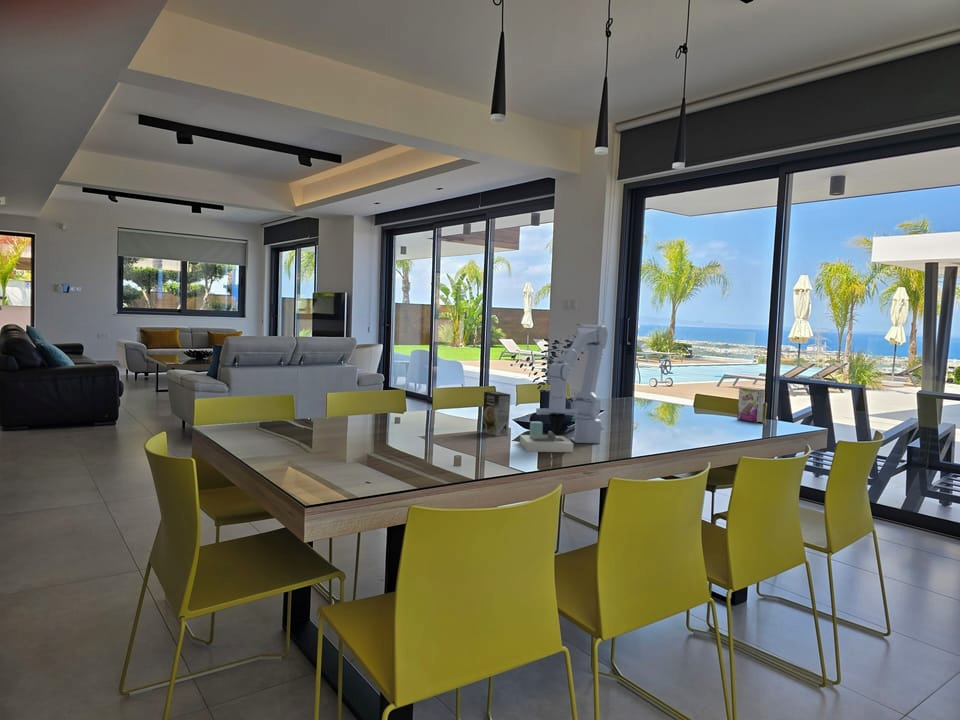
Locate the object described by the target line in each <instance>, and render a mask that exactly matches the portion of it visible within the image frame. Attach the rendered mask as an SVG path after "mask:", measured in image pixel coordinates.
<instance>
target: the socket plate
mask: <svg viewBox="0 0 960 720" xmlns="http://www.w3.org/2000/svg"><path fill="white" fill-rule="evenodd" d="M519 444H520V445H521V446H522V447H523V448H524V450H525V451H526V452H535V453H536V452H537V453H539V452H540V453H544V452H545V453H574V443H573V442H572V441H570V440H569V439H568V438H567V437H565V436H564V435H558V436H556V438H555V439H554V441H534V440H533V439H532V438H531V437H530V434H520V435H519Z"/></svg>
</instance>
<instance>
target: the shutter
mask: <svg viewBox="0 0 960 720" xmlns="http://www.w3.org/2000/svg"><path fill="white" fill-rule="evenodd" d="M529 435H530V434H529ZM530 437H531V438H532V439H533V440H534V441H554V439H555V438H556V434H554V433H553V430H548V431H547V434H542V435H530Z"/></svg>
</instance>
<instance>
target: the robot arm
mask: <svg viewBox="0 0 960 720" xmlns="http://www.w3.org/2000/svg"><path fill="white" fill-rule="evenodd" d="M608 337H609V333H608V329H607V327H606V326H605V325H604V324H586V323H582V324H580V325H579V326H578V329H577V330H576V337H575V338H574V341H573V342H572V344H571V345H570V347H569V348H565V349H564V350H563V351H562V353H561V354H560V356H559V357H558V358H557V359H556V361H555V362H552V363H551V364H549V366H548V369H547V373H546V374H547V377H548V382H549V402H548V407H545V408H544V407H543V408H537V407H536V408H535V414H536V415H538V416H539V415H547V417H548V419H549V421H550V425H551V428H552V432H553V433H554V434H556V436H559V435H560V434H559V433H560V430H561V428H562V424H563V423H564V421H565V419H566V416H573V418H574V420H575V421H574V435H573V437H570V440H572V441H573V442H574V443H577V444H601V443H602V442H601V432H602V422H601V419H600V418H598V417H599V415H600V413H601V398H600V397H599V396H598V395H597V394H596V389H597V385H598V378H599V372H600V368H601V361H602V358H603V357H602V356H603V352H604V350H605V349H606V347H607V341H608ZM584 348H586V349H587V351H588V353H587V359H586V364H585V368H584V373H583V374H584V375H583V379H582V385H581V390H580V391H579V392H577V393H576V394H574V398H573V400H572V402H571V405H570V408H566V400H567V380H569V378H570V377H571V375H572V370H573V366H574V365H575V364H576V362H577V361H578V360H579V353H580V352H581V351H582V350H583V349H584Z"/></svg>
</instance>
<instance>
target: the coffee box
mask: <svg viewBox="0 0 960 720" xmlns="http://www.w3.org/2000/svg"><path fill="white" fill-rule="evenodd" d="M483 393H484V394H483V413H482V416H483V417H482V433H484V434H488V435H492V436H495V437H500V436H501V437H502V436H503V437H504V436H509V428H510V427H509V425H510V407H511V394H510V393H506V392H505V393H504V392H500V391H495V390H494V391H489V390H488V391H483Z"/></svg>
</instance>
